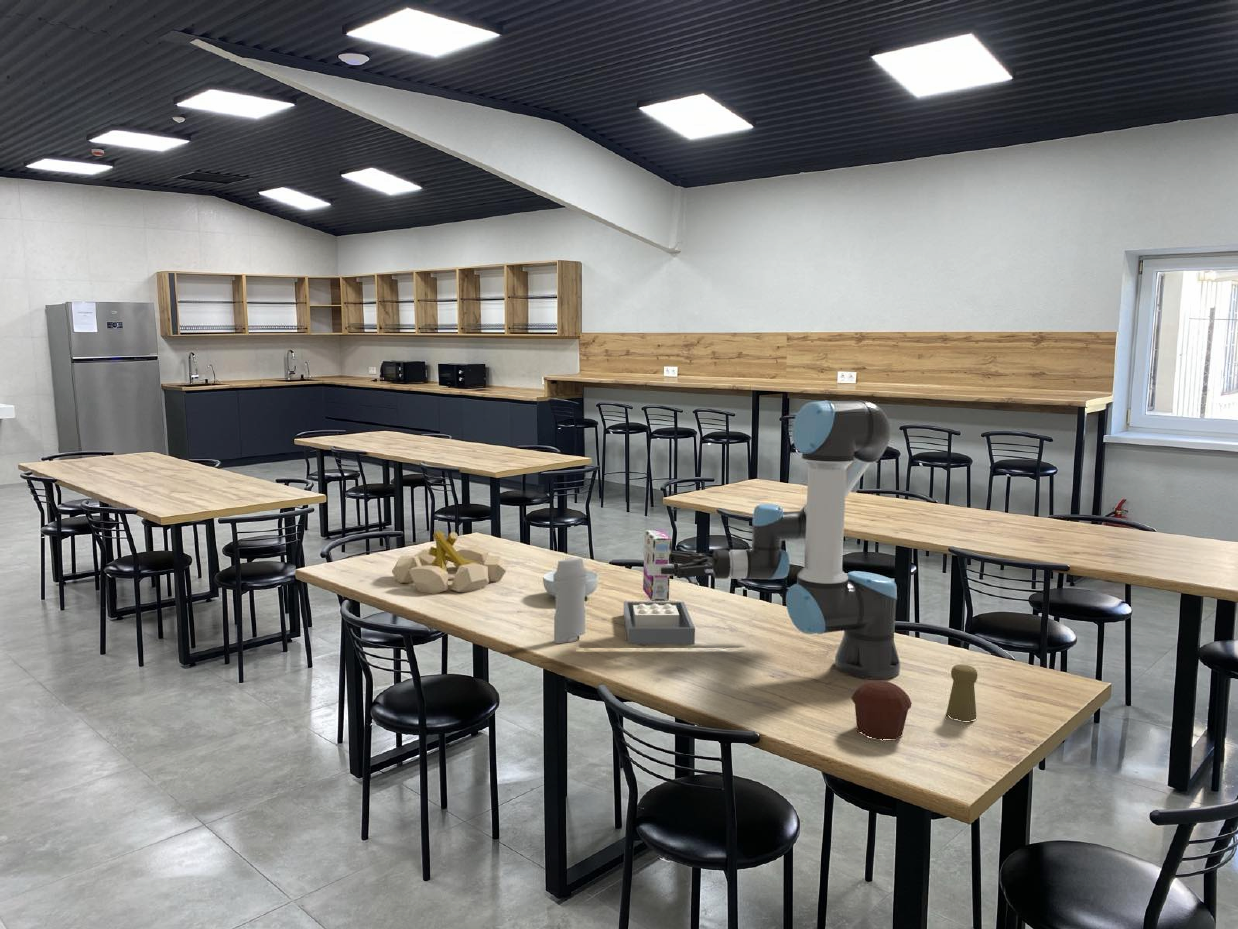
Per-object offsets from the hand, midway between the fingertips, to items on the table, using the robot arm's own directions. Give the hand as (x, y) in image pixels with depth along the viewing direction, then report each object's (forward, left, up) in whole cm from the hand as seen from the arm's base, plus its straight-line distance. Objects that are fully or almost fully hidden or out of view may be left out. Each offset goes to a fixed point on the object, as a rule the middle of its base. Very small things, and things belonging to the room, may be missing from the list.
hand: (645, 563), depth 230 cm
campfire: (+58, +59, -21) cm, 85 cm away
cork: (-50, -63, -21) cm, 83 cm away
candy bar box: (0, -3, -9) cm, 9 cm away
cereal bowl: (+38, +20, -21) cm, 48 cm away
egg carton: (+11, -4, -19) cm, 22 cm away
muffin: (-57, -43, -21) cm, 74 cm away
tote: (+5, -4, -20) cm, 21 cm away
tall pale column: (-1, +20, -21) cm, 28 cm away
